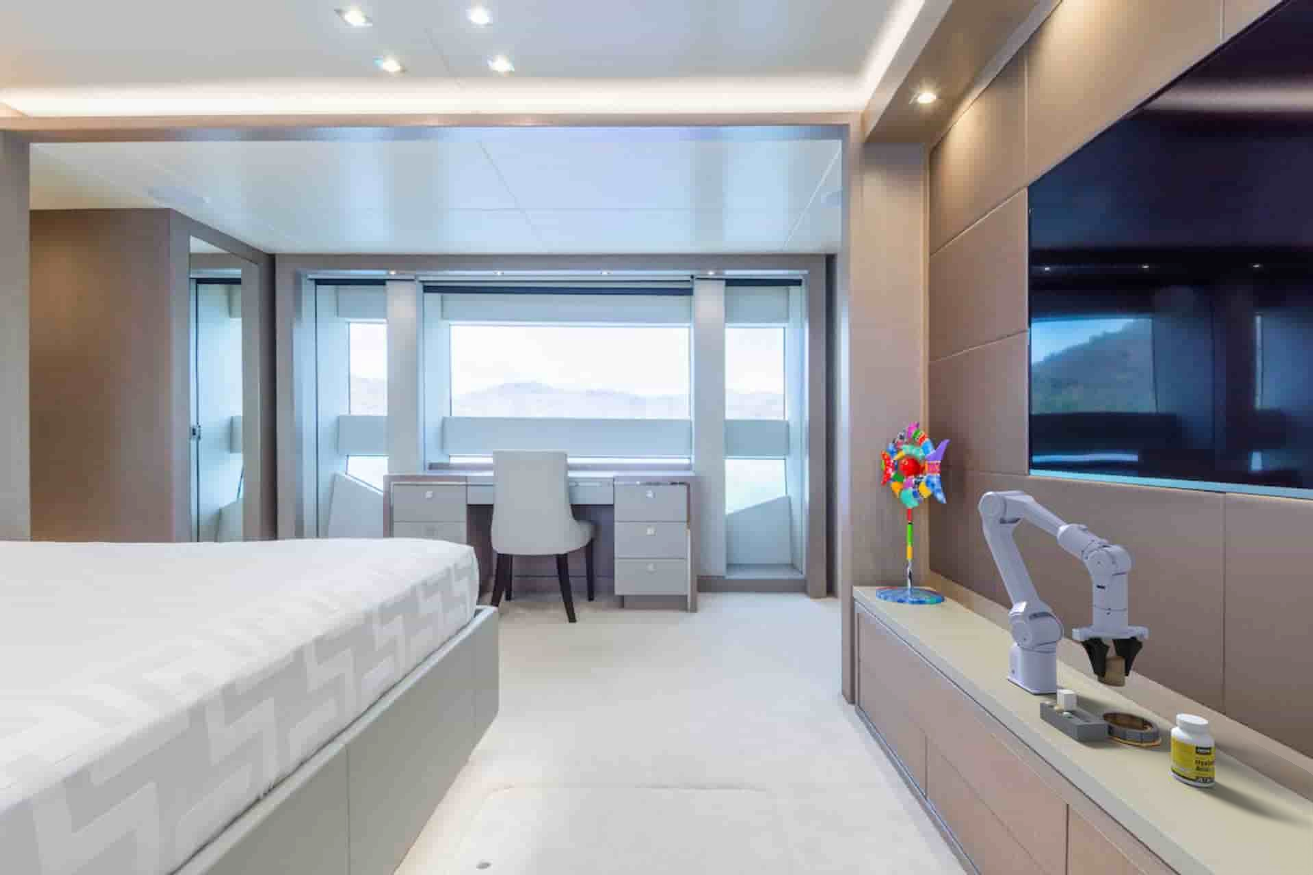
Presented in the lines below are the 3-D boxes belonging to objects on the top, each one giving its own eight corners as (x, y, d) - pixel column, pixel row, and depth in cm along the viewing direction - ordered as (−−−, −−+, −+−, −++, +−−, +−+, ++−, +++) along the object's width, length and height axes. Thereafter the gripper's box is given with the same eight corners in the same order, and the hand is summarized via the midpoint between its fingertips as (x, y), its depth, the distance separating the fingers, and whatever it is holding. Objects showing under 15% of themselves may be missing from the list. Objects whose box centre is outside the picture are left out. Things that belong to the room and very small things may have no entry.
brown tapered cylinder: (1092, 678, 130) (1091, 653, 130) (1113, 677, 130) (1112, 653, 130) (1109, 687, 125) (1108, 661, 125) (1131, 686, 126) (1130, 660, 126)
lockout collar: (1082, 722, 124) (1082, 711, 124) (1131, 720, 125) (1130, 708, 125) (1123, 747, 114) (1123, 734, 114) (1176, 744, 115) (1176, 731, 115)
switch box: (1040, 717, 127) (1040, 699, 127) (1069, 716, 127) (1068, 698, 127) (1077, 741, 117) (1076, 721, 117) (1108, 739, 117) (1107, 720, 117)
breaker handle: (1057, 706, 124) (1056, 689, 124) (1068, 705, 125) (1068, 689, 125) (1064, 710, 122) (1064, 693, 122) (1076, 709, 123) (1076, 693, 123)
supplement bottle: (1198, 790, 100) (1197, 727, 100) (1163, 773, 105) (1162, 713, 105) (1223, 785, 101) (1222, 723, 102) (1187, 768, 107) (1186, 709, 107)
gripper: (1090, 613, 123) (1091, 683, 123) (1161, 611, 124) (1162, 681, 124) (1064, 604, 130) (1065, 670, 130) (1131, 602, 131) (1132, 668, 131)
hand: (1111, 675), depth 128 cm, fingers closed on brown tapered cylinder, 4 cm apart
